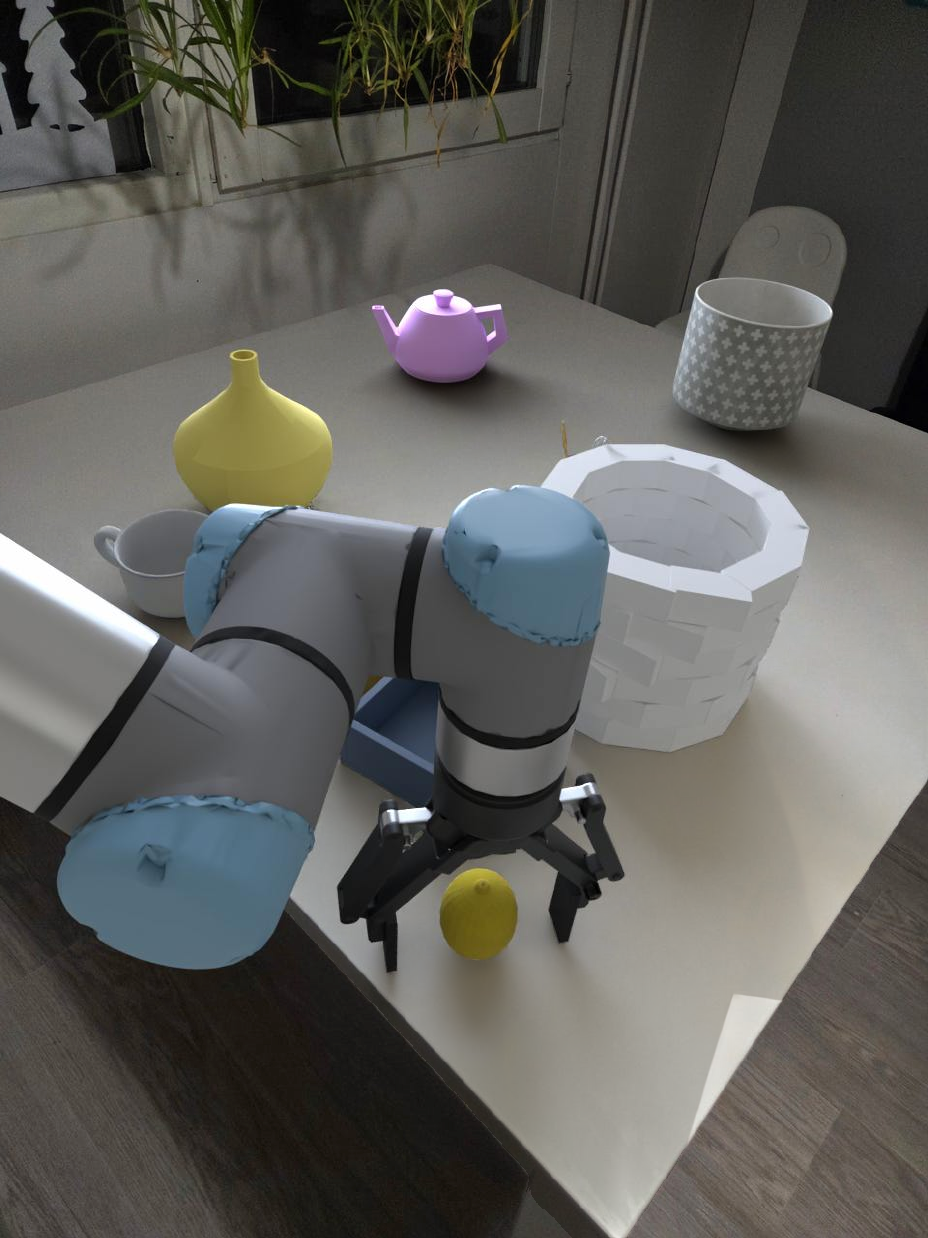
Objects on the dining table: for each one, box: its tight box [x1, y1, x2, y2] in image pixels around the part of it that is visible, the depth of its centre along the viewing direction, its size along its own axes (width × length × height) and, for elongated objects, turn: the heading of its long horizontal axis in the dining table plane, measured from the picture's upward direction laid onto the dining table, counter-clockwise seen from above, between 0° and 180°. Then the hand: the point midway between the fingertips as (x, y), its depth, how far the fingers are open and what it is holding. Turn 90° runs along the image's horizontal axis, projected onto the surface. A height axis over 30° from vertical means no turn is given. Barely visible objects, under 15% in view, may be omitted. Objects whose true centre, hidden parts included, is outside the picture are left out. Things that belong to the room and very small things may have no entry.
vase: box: [172, 349, 334, 513], centre depth 96 cm, size 18×18×19 cm
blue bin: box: [339, 677, 439, 809], centre depth 73 cm, size 14×14×6 cm
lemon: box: [438, 867, 519, 961], centre depth 58 cm, size 6×6×8 cm
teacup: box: [93, 508, 209, 619], centre depth 86 cm, size 14×11×8 cm
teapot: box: [372, 289, 510, 384], centre depth 132 cm, size 22×16×12 cm
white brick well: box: [540, 443, 811, 753], centre depth 78 cm, size 25×24×19 cm
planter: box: [671, 277, 834, 432], centre depth 122 cm, size 19×19×18 cm
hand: (475, 940), depth 60 cm, fingers open, 12 cm apart
